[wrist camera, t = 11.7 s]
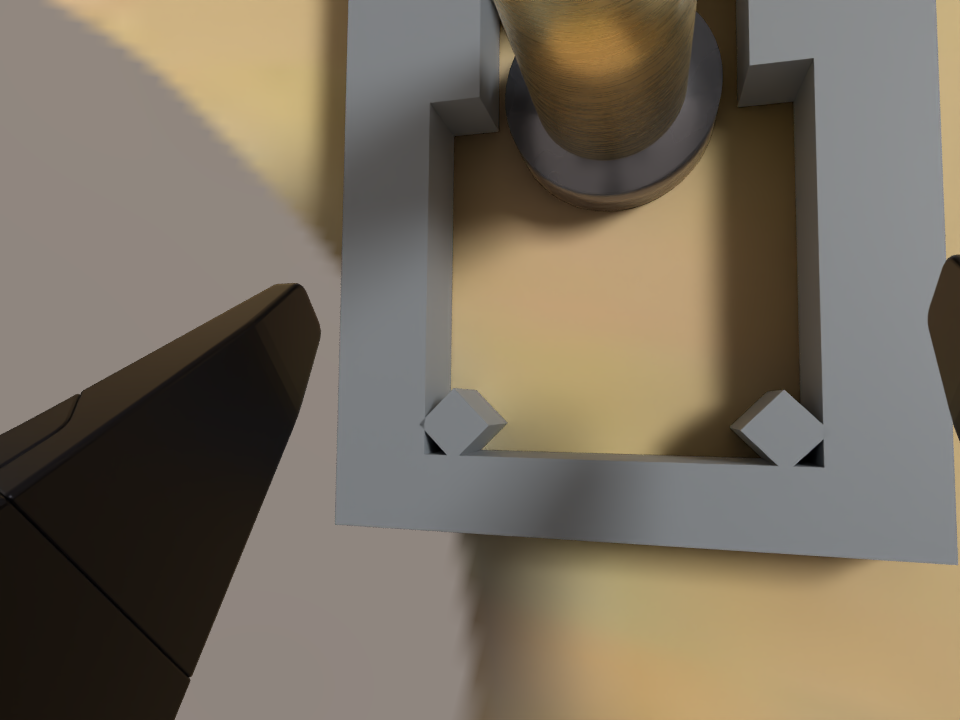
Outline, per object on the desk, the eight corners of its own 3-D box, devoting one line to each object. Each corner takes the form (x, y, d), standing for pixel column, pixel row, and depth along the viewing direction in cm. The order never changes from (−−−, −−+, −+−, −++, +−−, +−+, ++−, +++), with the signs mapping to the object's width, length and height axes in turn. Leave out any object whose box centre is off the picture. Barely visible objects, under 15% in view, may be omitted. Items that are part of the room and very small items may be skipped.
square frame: (916, 543, 14) (960, 566, 12) (370, 511, 17) (332, 525, 15) (891, -145, 15) (929, -231, 13) (382, -51, 18) (349, -106, 16)
